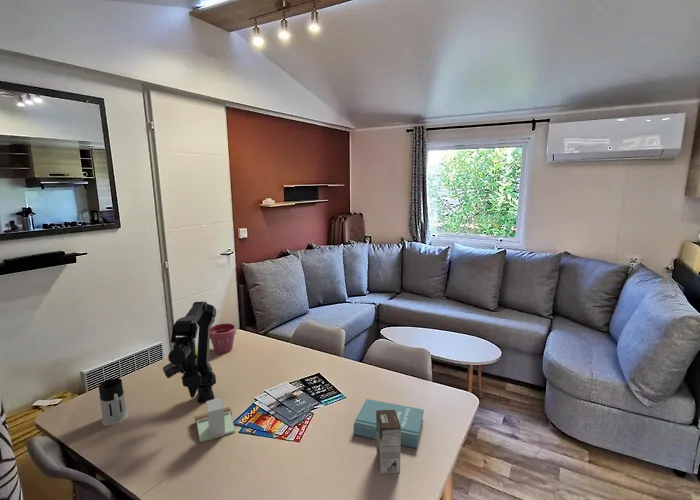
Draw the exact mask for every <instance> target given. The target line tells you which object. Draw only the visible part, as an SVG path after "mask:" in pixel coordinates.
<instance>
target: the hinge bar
mask: <svg viewBox="0 0 700 500" xmlns="http://www.w3.org/2000/svg"><path fill="white" fill-rule="evenodd" d="M229 411H230V412H231V416H232V417H233V413H232V409H231V407H230V406H227V407H224V413H226V412H229ZM205 418H208V417H207V412H206V413H202V414H199V415H195V416H194V423H195V424H194V425H195V429H198V427H197V421H198V420H201V419H205Z"/></svg>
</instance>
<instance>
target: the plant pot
mask: <svg viewBox="0 0 700 500" xmlns="http://www.w3.org/2000/svg"><path fill="white" fill-rule="evenodd" d="M236 328H237V327H236V325H235V324H233V323H228V322H227V323H219V324H215V325H214V324H213V325H212V326H211V327H210V341H211V344H212V347H213V349H214V352H215V354H220V355H221V354H227V353H229V352H231V351H232V350H233V347H234V342H235V341H234V340H235V339H234V338H235V335H236V333H237V329H236Z"/></svg>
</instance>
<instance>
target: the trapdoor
mask: <svg viewBox="0 0 700 500" xmlns="http://www.w3.org/2000/svg"><path fill="white" fill-rule="evenodd" d="M231 412H232V411H231ZM231 412H230V411H229V412H226V413H224V420H225V434H223V435H220V436H217V437H214V438H211V439H210V434H209V429H208V418H205V419H201V420H198V421H197V427H198V428H197V432H198V439H199V443H204V442H208V441H210V440H213V439H218V438H220V437H223V436H227V435H230V434H233V433H235V432H236V429H235V425H234V421H233V415H232V416H231Z"/></svg>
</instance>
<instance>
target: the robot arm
mask: <svg viewBox="0 0 700 500" xmlns="http://www.w3.org/2000/svg"><path fill="white" fill-rule="evenodd" d="M216 317H217V308H216V307H215V306H214V305H212V304H209V303H207V301H195V302H193V303H192V306H191V308H190V309H189V310H188V312H187V313H186V315H185V316H183V317H180V318H178V319H177V320H176V321H175V322H174V324H173V325H172V331H171V338H170V344H174V345H173V348H172V349H171V350H170V352H169V353H168V356H167V357H168V358H167V359H168V361H169V363H167V364H166V365H164V366H163V367H162V372H163V373H164V374H165V377H166V379H170V378H172V377H174V376H175V375H177V374H178V373H180V374H183V375H182V376H181V383H182V385H183V387H185V388H187V390H188V393H189V396H190V398H195V396H196V400H197V403H198V404H201V403H203V402H206V401H210V400H213V399H215V394H214V391H213V387H214V385H215V384H217V377H216V374H215V373H214V372H213V367H212V365H211V363H210V361H209V360H210V359H209V358H210V344H211V343H210V341H211V339H210V327H212V326H213V325H214V323H215V320H216ZM197 335H198V338H197ZM195 339H198V340H197V347H196V340H195ZM196 348H197V349H196ZM196 350H197V351H198V352H197V355H196ZM196 359H197V360H196Z"/></svg>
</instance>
